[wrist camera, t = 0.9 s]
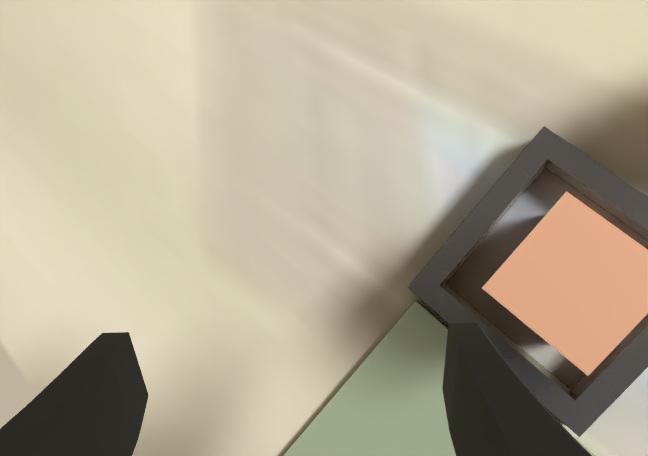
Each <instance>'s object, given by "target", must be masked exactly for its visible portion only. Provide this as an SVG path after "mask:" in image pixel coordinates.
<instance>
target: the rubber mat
mask: <svg viewBox="0 0 648 456" xmlns="http://www.w3.org/2000/svg"><path fill="white" fill-rule="evenodd" d="M447 334H448V327H447V326H445V325H444V324H443V323H442V322H441V321H440V320H439V319H437V318H436V317H435V316H434V315H433V314H432V313H430V312H429V311H428V310H427V309H426V308H425V307H424V306H422V305H421V304H420V303H419V302H418V301H417V300H416V301H415V302H414V303H413V304H412V305H411V306H410V308H409V309H408V310H407V311H406V312H405V314H404V315H403V316H402V317H401V318H400V319H399V321H398V322H397V323H396V324H395V325H394V326H393V328H392V329H391V330H390V331H389V332H388V333H387V335H386V336H385V337H384V338H383V339H382V340H381V342H380V343H379V344H378V345H377V346H376V348H375V349H374V350H373V351H372V352H371V353H370V355H369V356H368V357H367V358H366V359H365V360H364V362H363V363H362V364H361V365H360V366H359V367H358V369H357V370H356V371H355V372H354V373H353V374H352V376H351V377H350V378H349V379H348V380H347V382H346V383H345V384H344V385H343V386H342V387H341V389H340V390H339V391H338V392H337V393H336V394H335V396H334V397H333V398H332V399H331V400H330V401H329V403H328V404H327V405H326V406H325V407H324V408H323V410H322V411H321V412H320V413H319V414H318V416H317V417H316V418H315V419H314V420H313V421H312V423H311V424H310V425H309V426H308V427H307V428H306V430H305V431H304V432H303V433H302V434H301V435H300V437H299V438H298V439H297V440H296V441H295V442H294V444H293V445H292V446H291V447H290V448H289V449H288V451H287V452H286V453H285V454H284V455H283V456H456V454H455V450H454V447H453V443H452V439H451V436H450V432H449V426H448V420H447V414H446V408H445V402H444V395H443V389H442V387H443V376H444V366H445V355H446V345H447ZM581 445H582V444H581ZM582 446H583V445H582ZM583 447H584V446H583ZM584 448H585V447H584ZM585 449H586V448H585ZM586 450H587V449H586ZM587 451H588V450H587ZM588 452H589V453H590V454H591V455H592V456H594V455H593V454H592V453H591V452H590V451H588Z"/></svg>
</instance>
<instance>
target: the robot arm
mask: <svg viewBox="0 0 648 456" xmlns="http://www.w3.org/2000/svg"><path fill="white" fill-rule="evenodd" d="M442 389H443V395H444V402H445V408H446V414H447V420H448V426H449V432H450V436H451V439H452V443H453V447H454V450H455V454H456V456H592V455H591V454H590V453H589V452H588V451H587V450H586V449H585V448H584V447H583V446H582V445H581V444H580V443H579V442H578V441H577V440H576V439H575V438H574V437H573V436H572V435H571V434H570V433H569V432H568V431H567V430H566V429H565V428H564V427H563V426H562V425H561V424H560V423H559V422H558V421H557V420H556V419H555V418H554V417H553V416H552V414H551V413H550V412H549V411H548V410H547V409H546V408H545V407H544V406H543V405H542V403H541V402H540V401H539V400H538V399H537V398H536V396H535V395H534V394H533V393H532V392H531V391H530V389H529V388H528V387H527V386H526V385H525V384H524V382H523V381H522V380H521V379H520V378H519V376H518V375H517V374H516V373H515V372H514V370H513V369H512V368H511V367H510V365H509V364H508V363H507V361H506V360H505V359H504V358H503V356H502V355H501V354H500V352H499V351H498V350H497V349H496V347H495V346H494V345H493V343H492V342H491V340H490V339H489V338H488V336H487V335H486V334H485V332H484V331H483V329H482V328H481V327H480V326H479V325H478V324H477V323H449V324H448V334H447V345H446V355H445V366H444V376H443V387H442ZM147 399H148V392H147V389H146V386H145V383H144V380H143V376H142V373H141V370H140V367H139V364H138V360H137V357H136V354H135V351H134V348H133V345H132V341H131V338H130V335H129V332H125V333H102V334H101V335H100V336H99V337H98V338H97V339H96V340H94V341H93V342H92V343H91V344H90V345H89V346H88V347H87V348H86V349H85V350H84V351H83V352H82V353H81V354H80V355H79V356H78V357H77V358H76V359H75V360H74V361H73V362H72V363H71V364H70V365H69V366H68V367H67V368H66V369H65V370H64V371H63V372H62V373H61V374H60V375H59V376H57V377H56V378H55V379H54V380H53V381H52V382H51V383H50V384H49V385H48V386H47V387H46V388H45V389H44V390H43V391H42V392H41V393H40V394H39V395H38V396H36V397H35V398H34V399H33V400H32V402H30V403H29V404H28V405H27V406H26V407H25V408H23V409H22V410H21V411H20V412H19V413H18V414H17V415H15V416H14V417H13V418H12V419H11V420H10V421H9V422H8V423H7V424H5V425H4V426H3V427H2V428H1V429H0V456H132V454H133V451H134V448H135V446H136V443H137V440H138V437H139V433H140V429H141V425H142V421H143V417H144V412H145V408H146V404H147Z"/></svg>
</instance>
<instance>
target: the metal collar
mask: <svg viewBox="0 0 648 456" xmlns="http://www.w3.org/2000/svg"><path fill="white" fill-rule="evenodd" d="M545 167H546V168H547V169H549V170H550V171H551V172H553V173H554V174H556V175H557V176H558V177H560V178H561V179H563V180H564V181H565V182H567V183H568V184H570V185H571V186H572V187H574V188H575V189H577V190H578V191H579V192H581V193H582V194H584V195H585V196H586V197H588V198H589V199H591V200H592V201H593V202H595V203H596V204H598V205H599V206H600V207H602V208H603V209H605V210H606V211H607V212H609V213H610V214H612V215H613V216H614V217H616V218H617V219H619V220H620V221H621V222H623V223H624V224H626V225H627V226H628V227H630V228H631V229H633V230H634V231H635V232H637V233H638V234H640V235H641V236H642V237H644V238H645V239H647V240H648V197H646V196H645V195H643V194H642V193H640V192H639V191H638V190H636V189H635V188H633V187H632V186H630V185H629V184H627V183H626V182H624V181H623V180H622V179H620V178H619V177H617V176H616V175H614V174H613V173H611V172H610V171H608V170H607V169H606V168H604V167H603V166H601V165H600V164H598V163H597V162H595V161H594V160H592V159H591V158H590V157H588V156H587V155H585V154H584V153H582V152H581V151H579V150H578V149H576V148H575V147H574V146H572V145H571V144H569V143H568V142H566V141H565V140H563V139H562V138H560V137H559V136H558V135H556V134H555V133H553V132H552V131H550V130H549V129H547V128H546V127H543V128H542V129H541V130H540V131H539V133H538V134H537V135H536V136H535V137H534V139H533V140H532V141H531V142H530V143H529V144H528V146H527V147H526V148H525V149H524V150H523V152H522V153H521V154H520V155H519V156H518V157H517V159H516V160H515V161H514V162H513V163H512V165H511V166H510V167H509V168H508V169H507V171H506V172H505V173H504V174H503V175H502V176H501V178H500V179H499V180H498V181H497V182H496V184H495V185H494V186H493V187H492V188H491V189H490V191H489V192H488V193H487V194H486V195H485V197H484V198H483V199H482V200H481V201H480V202H479V204H478V205H477V206H476V207H475V208H474V210H473V211H472V212H471V213H470V214H469V215H468V217H467V218H466V219H465V220H464V221H463V223H462V224H461V225H460V226H459V227H458V228H457V230H456V231H455V232H454V233H453V234H452V236H451V237H450V238H449V239H448V240H447V241H446V243H445V244H444V245H443V246H442V247H441V249H440V250H439V251H438V252H437V253H436V254H435V256H434V257H433V258H432V259H431V260H430V262H429V263H428V264H427V265H426V266H425V268H424V269H423V270H422V271H421V272H420V273H419V275H418V276H417V277H416V278H415V279H414V281H413V282H412V283H411V284H410V285H409V286H408V288H409V289H410V290H411V291H412V292H413V293H415V294H416V295H417V296H418V297H419V298H420V299H422V300H423V301H424V302H425V303H426V304H427V305H428V306H430V307H431V308H432V309H433V310H434V311H435V312H436V313H438V314H439V315H440V316H441V317H442V318H443V319H444V320H446V321H447V322H448V323H477V324H478V325H479V326H480V327H481V328H482V329H483V331H484V332H485V334H486V335H487V336H488V338H489V339H490V340H491V342H492V343H493V345H494V346H495V347H496V349H497V350H498V351H499V352H500V354H501V355H502V356H503V358H504V359H505V360H506V361H507V363H508V364H509V365H510V367H511V368H512V369H513V370H514V372H515V373H516V374H517V375H518V376H519V378H520V379H521V380H522V381H523V382H524V384H525V385H526V386H527V387H528V388H529V389H530V391H531V392H532V393H533V394H534V395H535V396H536V398H537V399H538V400H539V401H540V402H541V403H542V405H543V406H544V407H546V408H547V409H548V410H549V411H550V412H551V413H553V414H554V415H555V416H556V417H557V418H558V419H559V420H561V421H562V422H563V423H564V424H565V425H566V426H567V427H569V428H570V429H571V430H572V431H573V432H574V433H576V434H577V435H578V436H579V437H580V436H581V435H582V434H583V433H584V432H585V431H586V430H587V429H588V428H589V427H590V426H591V425H592V424H593V423H594V422H595V421H596V419H597V418H598V417H599V416H600V415H601V414H602V413H603V412H604V411H605V410H606V409H607V408H608V407H609V406H610V405H611V404H612V403H613V402H614V401H615V400H616V399H617V398H618V397H619V396H620V395H621V394H622V393H623V392H624V391H625V390H626V389H627V388H628V387H629V386H630V385H631V384H632V383H633V382H634V380H635V379H636V378H637V377H638V376H639V375H640V374H641V373H642V372H643V371H644V370H645V369H646V368H647V367H648V314H647V315H646V316H645V317H644V318H643V319H642V320H641V321H640V322H639V323H638V324H637V325H636V326H635V327H634V329H633V330H632V331H631V332H630V333H629V334H628V335H627V336H626V337H625V338H624V339H623V340H622V341H621V342H620V343H619V344H618V345H617V346H616V347H615V348H614V350H613V351H612V352H611V353H610V354H609V355H608V356H607V357H606V358H605V359H604V360H603V361H602V362H601V363H600V364H599V365H598V366H597V367H596V368H595V369H594V371H593V372H592V373H591V374H590V375H589V376H587V375H586V374H585V375H584V376H583V377H582V378H581V379H580V380H579V381H578V382H577V383H576V385H575V386H574V387H573V388H572V389H571V390H570V389H569V388H568V387H567V386H565V385H564V384H563V383H562V382H561V381H559V380H558V379H557V378H556V377H555V376H554V375H552V374H551V373H550V372H549V371H548V370H546V369H545V368H544V367H543V366H542V365H541V364H539V363H538V362H537V361H536V360H535V359H533V358H532V357H531V356H530V355H529V354H528V353H526V352H525V351H524V350H523V349H522V348H520V347H519V346H518V345H517V344H516V343H514V342H513V341H512V340H511V339H510V338H509V337H507V336H506V335H505V334H504V333H503V332H501V331H500V330H499V329H498V328H497V327H496V326H494V325H493V324H492V323H491V322H490V321H488V320H487V319H486V318H485V317H484V316H483V315H481V314H480V313H479V312H478V311H477V310H475V309H474V308H473V307H472V306H471V305H470V304H468V303H467V302H466V301H465V300H464V299H462V298H461V297H460V296H459V295H458V294H456V293H455V292H454V291H453V290H452V289H451V288H449V287H448V286H447V285H446V284H445V283H446V282H447V281H448V280H449V279H450V277H451V276H452V275H453V274H454V273H455V272H456V270H457V269H458V268H459V267H460V266H461V265H462V263H463V262H464V261H465V260H466V259H467V258H468V256H469V255H470V254H471V253H472V252H473V251H474V249H475V248H476V247H477V246H478V245H479V244H480V242H481V241H482V240H483V239H484V238H485V237H486V235H487V234H488V233H489V232H490V231H491V230H492V228H493V227H494V226H495V225H496V224H497V223H498V221H499V220H500V219H501V218H502V217H503V216H504V214H505V213H506V212H507V211H508V210H509V209H510V208H511V206H512V205H513V204H514V203H515V202H516V201H517V199H518V198H519V197H520V196H521V195H522V194H523V192H524V191H525V190H526V189H527V188H528V187H529V185H530V184H531V183H532V182H533V181H534V180H535V178H536V177H537V176H538V175H539V174H540V173H541V171H542V170H543V169H544V168H545Z"/></svg>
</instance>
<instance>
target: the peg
mask: <svg viewBox="0 0 648 456" xmlns="http://www.w3.org/2000/svg"><path fill="white" fill-rule="evenodd" d="M482 289H483V290H485V291H486V292H487V293H488V294H489V295H491V296H492V297H493V298H494V299H495V300H497V301H498V302H499V303H500V304H501V305H503V306H504V307H505V308H506V309H507V310H509V311H510V312H511V313H512V314H514V315H515V316H516V317H517V318H518V319H520V320H521V321H522V322H523V323H524V324H526V325H527V326H528V327H529V328H530V329H532V330H533V331H534V332H535V333H537V334H538V335H539V336H540V337H541V338H543V339H544V340H545V341H546V342H547V343H549V344H550V345H551V346H552V347H553V348H555V349H556V350H557V351H558V352H560V353H561V354H562V355H563V356H564V357H566V358H567V359H568V360H569V361H570V362H572V363H573V364H574V365H575V366H576V367H578V368H579V369H580V370H581V371H582V372H584V373H585V374H586V375H587V376H589V375H590V374H591V373H592V372H593V371H594V369H595V368H596V367H597V366H598V365H599V364H600V363H601V362H602V361H603V360H604V359H605V358H606V357H607V356H608V355H609V354H610V353H611V352H612V351H613V350H614V348H615V347H616V346H617V345H618V344H619V343H620V342H621V341H622V340H623V339H624V338H625V337H626V336H627V335H628V334H629V333H630V332H631V331H632V330H633V329H634V327H635V326H636V325H637V324H638V323H639V322H640V321H641V320H642V319H643V318H644V317H645V316H646V315H647V314H648V249H646V248H645V247H643V246H642V245H641V244H639V243H638V242H636V241H635V240H634V239H632V238H631V237H630V236H628V235H627V234H625V233H624V232H623V231H621V230H620V229H618V228H617V227H616V226H614V225H613V224H611V223H610V222H609V221H607V220H606V219H605V218H603V217H602V216H600V215H599V214H598V213H596V212H595V211H593V210H592V209H591V208H589V207H588V206H586V205H585V204H584V203H582V202H581V201H580V200H578V199H577V198H575V197H574V196H573V195H571V194H570V193H568V192H567V191H566V192H565V193H564V195H563V196H562V197H561V198H560V199H559V200H558V201H557V203H556V204H555V205H554V206H553V207H552V208H551V209H550V211H549V212H548V213H547V214H546V215H545V216H544V217H543V219H542V220H541V221H540V222H539V223H538V224H537V225H536V227H535V228H534V229H533V230H532V231H531V232H530V233H529V235H528V236H527V237H526V238H525V239H524V240H523V241H522V243H521V244H520V245H519V246H518V247H517V248H516V249H515V251H514V252H513V253H512V254H511V255H510V256H509V257H508V259H507V260H506V261H505V262H504V263H503V264H502V265H501V267H500V268H499V269H498V270H497V271H496V272H495V273H494V275H493V276H492V277H491V278H490V279H489V280H488V281H487V283H486V284H485V285H484V286H483V287H482Z"/></svg>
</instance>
